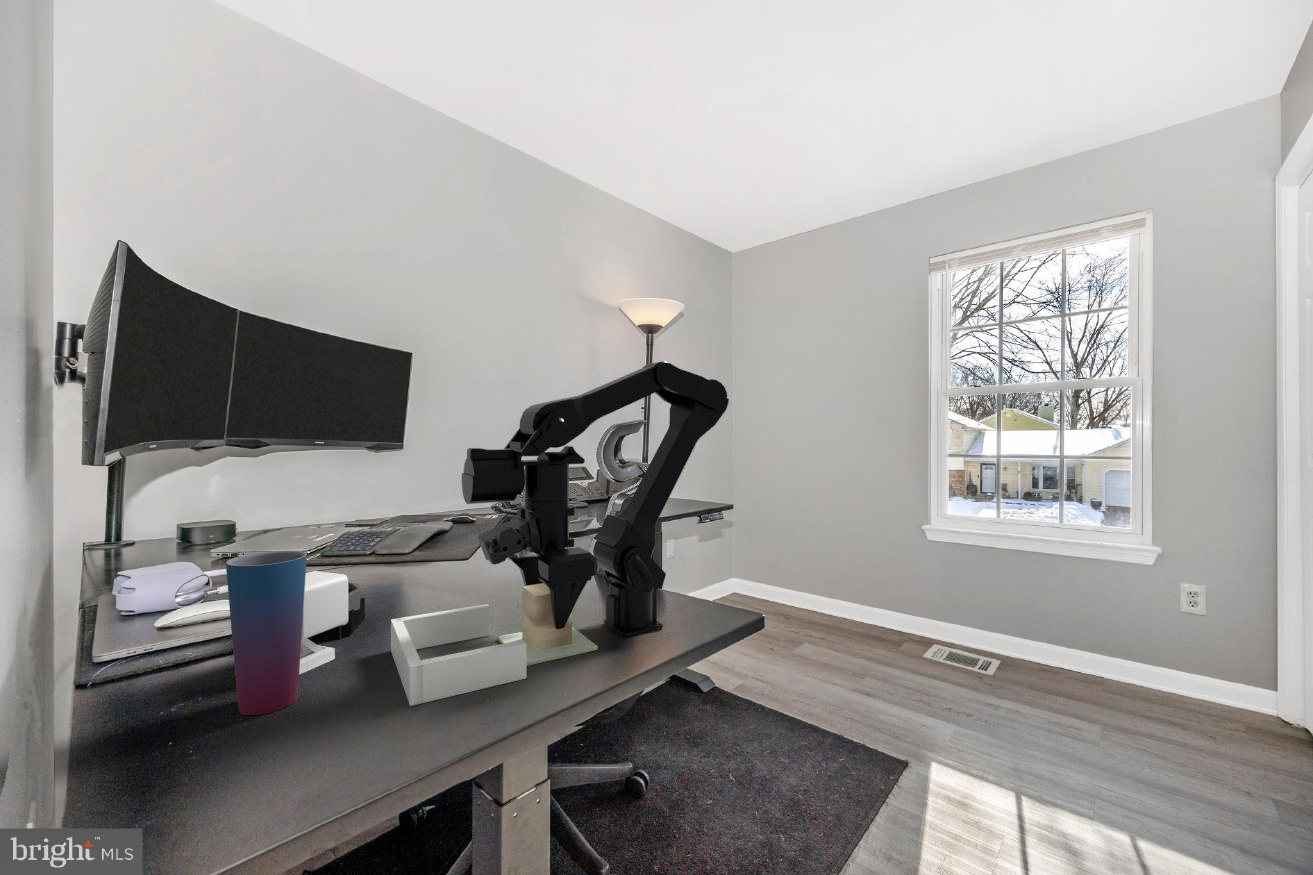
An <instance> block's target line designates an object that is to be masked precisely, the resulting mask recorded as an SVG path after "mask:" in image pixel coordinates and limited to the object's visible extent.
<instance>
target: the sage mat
mask: <svg viewBox="0 0 1313 875" xmlns="http://www.w3.org/2000/svg"><path fill="white" fill-rule="evenodd" d="M497 640H498V641H499V642H500V643H501V644H505V643H510V642H515V641H520V640H523V639H522V631H519V632H514V633H509V634H505V635H504V634H503V635H498V637H497ZM597 650H599V647H598V645H596V643H594V642H592V641H591V639H588V637H586V636H585V635H583V634H582V633H581V632H580V631H578V630H577V629H575V627H574V626H572V644H569V645H564V646H560V647H555V648H551V649H546V650H541V651H537V652H535V651H534V650H533V649H532V648H531V647H530V646H529V645H528V644H526V667H527V666H531V665H536V664H540V663H544V662H548V661H549V662H550V661H554V660H558V659H562V658H563V659H564V658H566V657H572V656H575V655H581V654H585V653H589V652H593V651H597Z"/></svg>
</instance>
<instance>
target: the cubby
mask: <svg viewBox="0 0 1313 875" xmlns="http://www.w3.org/2000/svg"><path fill="white" fill-rule="evenodd" d="M489 636H491V605H489V603H485V604H478V605H473V606H465V607H460V608H459V607H458V608H454V609H447V610H441V611H435V612H430V613H423V614H417V615H416V614H415V615H410V616H403V617H398V618H392V619H390V651H391V654H392V658H393V660H394V663H395V667H396V669H397V673H398V675H399V678H400V681H401V685H402V687H403V689H404V693H405V696H406V698H407V702H408V704H409V706H410V707H412V706H416V705H420V704H424V703H425V704H426V703H428V702H429V703H430V702H432V701H436V700H440V699H441V700H442V699H445V698H450V697H453V696H457V695H462V694H466V693H470V692H474V691H478V690H483V689H488V688H491V687H495V686H500V685H503V684H504V685H505V684H508V683H513V682H516V681H517V682H518V681H521V680H525V679H527V666H526V644H527V643H526V642H525V641H524V640H520V641H515V642H510V643H505V644H502V643H501V644H496V645H491V646H484V647H481V648H476V649H471V650H466V651H462V652H457V653H456V652H455V653H450V654H445V655H441V656H435V657H431V658H426V659H422V660H421V658H420V655H419V654H418V651H417V650H421V649H425V648H430V647H437V646H440V645H446V644H451V643H452V644H453V643H456V642H463V641H467V640H472V639H477V638H478V639H479V638H484V637H489Z"/></svg>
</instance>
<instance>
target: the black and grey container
mask: <svg viewBox="0 0 1313 875" xmlns="http://www.w3.org/2000/svg"><path fill="white" fill-rule="evenodd" d="M361 593H362V589H361V584H360V583H355V582H350V581H348V622H347V624H345V625H339V626H337V627H334V628H332V629H329V630H326V631H324V632H321V633H319V634H316V635H313V636H311V637H308V638H307V639H309V640H310V641H312V642H320V641H332V640H333V641H334V640H341V639H342V638H344V637H350V636H351V635H352V634H353V633H354V632H355V630H356V629H357V628H358V627H359V625H360V624H361V623H362V622H363V621H364V620H365V618H366V616H365V614H366V609H365V608H366V605H365V604H366V602H365V600H366V598H365V597H361Z"/></svg>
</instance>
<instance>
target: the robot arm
mask: <svg viewBox="0 0 1313 875" xmlns="http://www.w3.org/2000/svg"><path fill="white" fill-rule="evenodd" d="M653 394H655V395H657V396H658V397H659V398H660V400H661V399H662V401H664V403H665V402H666V403H667V404H669V405H670V407H669V426H668V429H667V430H666V433H665V434H664V436H663V438H662V440H661V442H660V443H659V446H658V448H657V450H656V451H655V453H654V454H653V457H652V459H651V460H650V463H649V465H648V467H647V468H646V471H645V472H644V474H643V477H642V479H641V480H640V482H639V484H638V486H637V487H636V490H635V491H634V493H633V496H632V497H631V499H630V501H629V503H628V505H627V507H626V508H625V510H623V511H622V512H621V513H620V514H619V515H617V516H616V515H613V514H609V513H608V514H606V516H605V518H604V520H603V523H602V524H601V528H600V530H598V532H597V534H595V535H594V536H593V538H592V539H593V540H595V544H594V545H593V549H592V552H590V551H589V550H586V549H584V548H582V547H580V546H578V547H575V538H573V537H571V536H570V533H569V530H570V529H569V527H570V524H569V523H570V519H569V518H570V516H571V517H572V516H575V506H574V507H573V506H570V465H583V464H584V463H585V461H586V459H585V458H584V457H582V456H581V455H580V454H579V453H578V452H577V451H576V449H575V448H574V446H572V445H567V444H569V443H570V442H572V441H573V440H574V439H576V438H577V437H579V436H580V435H582V434H583V433H585V432H586V430H587V429H588V428H589V427H590V426H591V425H592V424H594V423H595V422H596V421H598V420H599V419H601V418H603V417H605V416H607V415H610V414H612V413H614V412H616V411H618V410H621V409H622V408H625V407H627V406H629V405H632V404H633V403H636V402H637V401H640V400H642V399H645V398H646V397H648V396H650V395H653ZM729 401H730V398H729V397H728V392H727V389H726V388H725V386H724V384H723V382H720V381H719V380H718V379H713V378H711V379H708V378H706V377H704V376H702V375H699V374H697V373H693V372H690V371H687V370H686V369H685V370H684V369H682V368H679V367H677V366H675V364H672V363H671V362H668V361H666V360H665V361H664V360H663V361H658V362H652V363H647V364H646V365H644V366H643V367H642V368H639V369H637V370H635V371H633V372H630V373H628V374H626V375H623V376H620V377H618V378H617V379H614V380H612V381H609V382H607V383H605V384H602V385H599V386H598V387H595V388H593V389H591V390H588V391H586V392H584V393H581V394H579V395H575V396H570V397H564V398H559V399H555V400H550V401H546V402H545V401H544V402H541V403H536V404H533V405H530V406H529V407H527V408H526V409H524V410H523V412H522V414H521V417H520V419H519V428H518V429H517V430H516V432H515V434H514V435H513V436H512V437H511V439H510V440H509V441H508V442H507V444H506V446H505V447H504V448H500V449H497V448H495V449H494V448H493V449H486V448H481V447H480V448H479V447H469V448H467V450H466V459H465V461H464V465H463V472H462V473H461V488H462V496H463V499H464V502H465V504H467V505H472V504H473V505H476V504H488V503H489V504H490V503H506V502H514V501H515V500H516V499H517V496H518V495H519V496H521V495H522V493H523V492H524V505H519V508H517V516H516V518H515V519H513V520H510V521H507V522H504V523H501V524H499V525H498V526H495V527H493V528H490V529H488V530H485V531H484V532H481V533H480V534H479V535H477V540H478V544H479V545H480V548H481V550H482V552H483V555H484V558H485V560H487V561H489V562H490V564H492V565H498V564H501V563H503V562H505V561H506V560H507V559H508V560H509V561H511V562H512V564H514V565H516V567H518V569H519V571H520V573H521V574H520V575H521V577H522V582H523V584H524V585H523V586H529V585H535V584H542V583H544V584H545V585H546V586H547V587H548V588H549V590H550V598H551V606H552V613H553V620H554V626H555V628H556V629H563V628H564V627H565V625H566V623H567V621H568V618H569V616H570V614H571V612H572V613H573V610H574V608H575V606H576V604H577V602H578V601H579V600H578V599H579V597H580V596H581V594H582V592H583V590H584V589H585V587H586V585H587V583H588V582H589V581H591V580H592V577H595V576H597V575H598V567H600V568H601V569H602V571H603V574H604V576H605V579H606V580H611V581H612V582H610V583H608V594H607V595H606V598H605V609H606V610H605V618H604V619H603V623H604V624H605V625H606V626H608V627H609V628H611V629H612V630H613V631H615V632H616V633H618V634H619V635H621V636H622V637H628V636H633V635H638V634H643V633H647V632H651V631H650V630H652V631H654V630H653V629H656V630H658V629H657V628H661V629H663V628H664V625H663V623H662V622H660V621H658V590H659V589H662V588H663V586H664V583H665V579H666V575H667V574H666V571H664V570H663V569H662V568H661V567H660V566H659V565H658V564H657V562H655V561H654V560H653V559H652V556H653V553H654V551H655V547H656V539H657V538H656V532H657V531H656V530H657V523H658V521H659V518H660V517H661V515H662V513H663V510H664V508H665V506H666V504H667V503H668V501H669V499H670V496H671V495H672V493H673V491H674V489H675V486H676V485H677V483H678V480H679V479H680V477H681V474H682V473H683V471H684V469H685V466H686V465H687V463H688V461H689V459H690V457H691V455H692V453H693V452H694V449H695V447H696V444H697V443H698V441H699V440H700V439H701V438H702V437H703V436H704V435H706V434H707V433H708V432H709V431H710V430H711V429H712V428H714V427H715V426H716V424H718V422H719V420H720V419H721V418H722V416H723V415H724V414H725V412H726V411H727V409H728V407H729V403H730V402H729ZM561 447H563V448H562V449H561V450H560V451H548V450H549V449H551V448H553V449H558V448H561ZM523 457H537V458H536V459H522V458H523ZM662 627H663V628H662ZM646 631H647V632H646Z"/></svg>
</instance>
